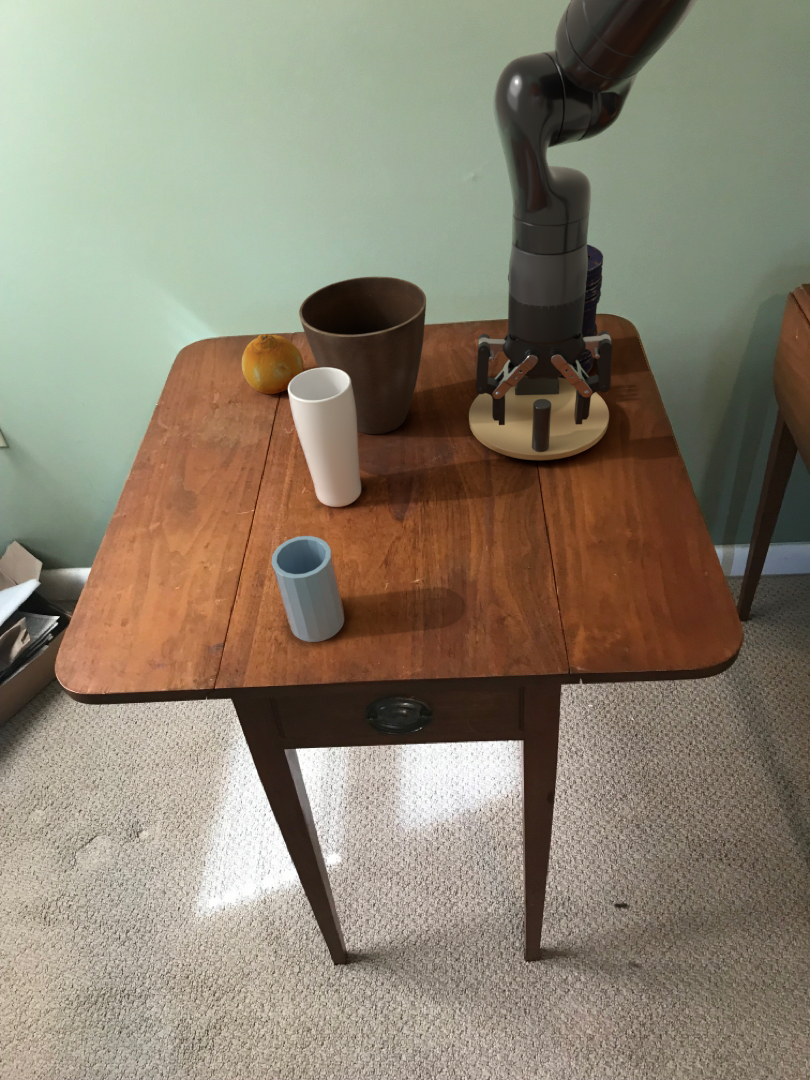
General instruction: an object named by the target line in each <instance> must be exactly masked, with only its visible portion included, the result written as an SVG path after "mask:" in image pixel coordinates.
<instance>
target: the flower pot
mask: <svg viewBox="0 0 810 1080" xmlns="http://www.w3.org/2000/svg"><path fill="white" fill-rule="evenodd" d="M426 310H427V297H426V294H425V292H424V291H423V289H422V288H420V287H419V286H418V285H417V284H415V283H413V282H411V281H408V280H405V279H401V278H397V277H391V276H390V277H389V276H361V277H354V278H348V279H344V280H340V281H336V282H334V283H330V284H328V285H325V286H323V287H321V288H319V289H317V290H316V291H314V292H313V293H311V294H310V295H309V296H307V297H306V298H305V299H304V300H303V302H302V303H301V305H300V306H299V310H298V317H299V319H300V322H301V326H302V328H303V332H304V335H305V337H306V340H307V342H308V345H309V346H308V347H309V348H310V351H311V353H312V356H313V358H314V361H315V363H316V366H317V368H323V367H328V368H336V369H339V370H342V371H344V372H345V373H347V374H348V375H349V377H350V379H351V383H352V388H353V393H354V398H355V405H356V414H357V431H358V432H359V433H362V434H366V435H382V434H387V433H389V432H392V431H395V430H397V429H398V428H399V427H401V426H402V425H403V424H404V422H405V421H406V419H407V417H408V414H409V410H410V406H411V404H412V400H413V396H414V393H415V389H416V385H417V380H418V376H419V371H420V367H421V359H422V354H423V353H422V352H423V345H424V336H425V326H426V325H425V324H426V323H425V322H426Z"/></svg>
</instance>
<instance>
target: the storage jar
mask: <svg viewBox="0 0 810 1080" xmlns="http://www.w3.org/2000/svg"><path fill="white" fill-rule="evenodd" d="M587 255H588V268H587V279H586V290H585V301H584V313H583V324H582V334H583V336H584V337H592V336H598V326H597V322H596V321H597V320H596V319H597V309H598V304H599V302H600V300H601V299H600V298H601V297H602V291H601V290H602V285H603V265H604V253H603V252H602V251H601V250H600V249H598V248H597V247H595V246H593V245H591V244H588V243H587ZM577 361H578V362H579V364H580V366H581V367H582V369H583V370H584V371H585V373H586V374H587V375H588V373H590V371H591V370H592V369H593V366H594V357H592V355H591V352H590V350H588V349H585V351H584V352H583V353H582V355H581V356H580V357H579V358H578V359H577ZM558 377H559V378H564V379H566V378H565V377H564V376H563V375H561V376H558Z"/></svg>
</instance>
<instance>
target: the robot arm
mask: <svg viewBox="0 0 810 1080" xmlns="http://www.w3.org/2000/svg"><path fill="white" fill-rule="evenodd" d="M697 2H698V0H570V1H569V3H568V4H567V6H566V7H565V9H564V11H563V13H562V15H561V17H560V19H559V21H558V23H557V27H556V30H555V34H554V50H548V51H543V52H537V53H533V54H532V53H531V54H527V55H522V56H518V57H515V58H514V59H512V60H511V61H509V62H508V63H507V64H506V65H505V66H504V68H503V69H502V71H501V73H500V74H499V76H498V79H497V82H496V84H495V88H494V93H493V101H492V102H493V103H492V107H493V108H492V109H493V117H494V121H495V126H496V129H497V133H498V138H499V140H500V141H499V142H500V145H501V148H502V152H503V155H504V160H505V164H506V169H507V174H508V179H509V180H508V181H509V184H510V185H509V186H510V190H511V196H512V197H511V198H512V217H511V219H512V222H511V223H512V224H511V228H512V229H511V249H510V255H509V261H508V262H509V263H508V274H507V280H508V297H507V298H508V303H507V333H506V335H505V337H504V338H490V335H489V334H487V333H481V334H480V335H479V336H478V338H477V339H478V340H477V342H478V343H477V361H476V376H475V379H476V380H475V393H477V394H478V395H480V394H484V393H487V394H489V395H491V396H492V417H493V419H494V421H499V425H505V394H506V393H507V392H508V390H509V389H510V388H511V387H514V386H515V385H516V384H517V383H518V382H519V381H520V380H521V379H522V377H523V376H525V377H528V379H538V378H542V377H544V378H548V379H557V378H558V376H561V375H563V376H564V377H565V378H566V379H567V381H568V382H569V383H570V384H571V385H572V386H574V387H575V388H576V389H577V390H576V401H575V413H574V417H575V424H576V425H579V424H582V420H587V418H588V416H589V410H590V400H591V396H592V394H594V393H595V392H596V393H598V392H601V393H607V392H609V390H610V389H611V381H612V380H611V379H612V377H611V376H612V359H613V344H612V339H611V335H610V332H609V331H607V330H602V331H600V332H599V333H598V334H597V336H592V337H584V336H583V334H582V324H583V313H584V301H585V290H586V279H587V268H588V255H587V244H588V233H589V221H590V213H591V212H590V210H591V202H592V188H591V182H590V179H589V178H588V176H587V175H586V174H585V173H584V172H582V171H581V170H578V169H576V168H572V167H568V166H567V167H566V166H556V165H549V163H548V158H547V153H548V148H553V147H557V146H558V147H559V146H563V145H567V144H572V143H577V142H582V141H585V140H589V139H592V138H594V137H597V136H599V135H600V134H602V133H603V132H605V131H607V130H608V129H609V128H611V127H612V126H613V125H614V124H615V122H616V121H617V120H618V118H620V116H621V113H622V111H623V109H624V106H625V104H626V102H627V100H628V97H629V95H630V93H631V91H632V89H633V86H634V84H635V82H636V79H637V76H638V74H639V72H640V71H641V70H642V69H643V68H644V67H645V66H646V65H647V64H648V62H650V60H652V59H653V57H654V56H655V55H656V54H657V53H658V51H660V50H661V48H662V47H663V46H664V45H665V44H666V43H667V42H668V40H670V39H671V37H672V36H673V35H674V34H675V33H676V31H678V29H679V28H680V27H681V25H682V24H683V23H684V21H685V20H686V18H687V17H688V16H689V14H690V13H691V11H692V10H693V8H694V6H695V5H696V3H697ZM585 349H588V350H590V352H591V355H592V357H593V359H596V374H593V375H592V376H591V375H590V376H589V374H588V373H587V374H586V373H585V371H584V370H583V369H582V367H581V366H580V364H579V362H578V361H577V359H578V358H579V357H580V356H581V355H582V353H583V352H584V351H585ZM501 352H503V354H504V355H505V357H506V358H507V359H508V360H507V361H506V362H505V364H504V365H503V367H502V369H501V370H500V372H499V373H498V374H497V375H496V376H495V377H490V376H489V366H490V362H492V361H494V360H496V359H497V357H498V354H500V353H501Z"/></svg>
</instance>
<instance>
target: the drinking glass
mask: <svg viewBox="0 0 810 1080" xmlns="http://www.w3.org/2000/svg"><path fill="white" fill-rule="evenodd" d="M287 393H288V400H289V406H290V411H291V416H292V420H293V423H294V427H295V430H296V433H297V436H298V439H299V443H300V446H301V448H302V451H303V454H304V455H303V456H304V457H305V461H306V464H307V466H308V470H309V473H310V477H311V480H312V483H313V486H314V492H315V495H316V498H317V500H318V501H319V502H320V503H321V504H323V505H325V506H327V507H332V508H341V507H347V506H349V505H351V504H352V503H355V501H357V500H358V498H359V497H360V495H361V493H362V481H361V473H360V471H361V470H360V455H359V435H358V434H359V433H358V432H359V431H357V414H356V405H355V398H354V393H353V388H352V383H351V379H350V377H349V375H348V374H347V373H345V372H344V371H342V370H339V369H336V368H328V367H323V368H319V367H315V368H311V369H308V370H305V371H303V372H302V373H300V374H299V375H297V376H296V377H294V378H293V379H292V380H291V382H290V383H289V385H288V389H287Z"/></svg>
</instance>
